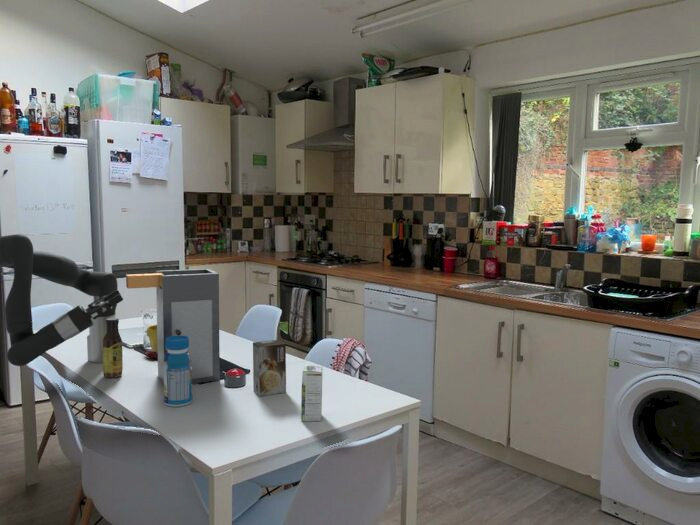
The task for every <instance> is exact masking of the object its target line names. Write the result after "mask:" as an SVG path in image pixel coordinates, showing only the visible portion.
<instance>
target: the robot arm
mask: <svg viewBox="0 0 700 525" xmlns="http://www.w3.org/2000/svg"><path fill="white" fill-rule="evenodd" d="M0 267H2V268H7V269H11V270H12V269H13V280H12V285H11V287H10V289H9V290H10V291H9V293H8V295H7V297H6V301H5V302H4V303H5V304H4V318H5V326H6V328H5V329H6V331H7V334H9V341H10V342H9V343H10V347H9V349H8V350H7V354H6V358H7V361H8V362H9V363H10V364H11V365H12V366H15V367H23V366H26V365H28V364H30V363H31V362H33V361H34V360H36V359H37V358H39V357H40V356H42V355H43V354H45V353H46V352H47V351H50V350H52V349H54V348H56V347H58V346H59V345H61V344H63V343H64V342H66V341H68V340H70V339H72V338H74V337H75V336H78V335H79V334H81V333H82V332H84V331H86V330H87V329H89V330H88V332H89V335H86V342H87V343H86V346H87V347H86V349H87V351H86V352H87V361H88V362H91V363H96V364H97V363H98V364H103V338H104V336H105V335H106V333H107V331H106V330H107V324H106V319H108V318H117V317H116V316H117V314H116V309H117V306H118V304H119V303H121V302H122V301H123V300H124V298H123V296H122V295H121V293H120V291H119V290H118V286H119V285H118V280H117V277H116V275H115V274H114V273H112V272H106V271H90V270H86V269H83V268H79V266H78V264H77V263H76V262H75V261H73V260H72V259H71V258H68V257H67V256H66V257H65V256H64V255H61V254H57V253H54V252H49V251H39V250H34V246H33V243H32V241H31V239H30V238H29V237H28V236H27V235H24V234H21V233H19V234H18V233H17V234H9V235H3V236H0ZM33 276H36V277H38V278H41V279H43V280H47V281H49V282H52V283H54V284H58V285H62V286H65V287H71V288H74V289H75V290H78V291H79V292H81V293H84V294H85V295H88V296H90V297H98V299H96V300H94V301H92V302H90V303H89V304H87V308H86V309H85V308H84V307H83V306H82V305H81V304H79V305H76V306H75V307H73V308H72V309H70V310H69V311H67V312H66V313H64V314H62V315H60V316H58V317H57V318H56V319H54V320H53V321H51V322H50V323H48V324H47V325H45V326H43V327H42V328H40V329H39V330H38V331H37V332H35V333H34V329H33V324H34V323H33V313H32V302H31V301H32V300H31V297H32V296H31V295H32V282H33V281H32V280H33Z"/></svg>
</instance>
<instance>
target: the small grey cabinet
mask: <svg viewBox="0 0 700 525" xmlns="http://www.w3.org/2000/svg"><path fill="white" fill-rule="evenodd" d="M155 273H162V274H163V275H161V277H162V287H155V288H156V290H155V291H156V292H155V293H156V325H157V344H158V353H157V376H158V378H159V380H160V381H161V383H162V385H163V386H164V373H163V367H164V362H163V359H164V356H165V354H166V353H167V351H168V350H166V345H165V340H166V338H167V337H170V336H178V335H181V336H187V337H188V338H189V348H188V349H187V350H188V352H189V353H190V355H191V358H192V361H191V365H192V385H194V384H202V383H201V382H204V383H210V382H209V381H212V382H218V381H219V380H221V379H220V378H221V376H220V372H221V371H220V370H221V369H220V366H221V365H220V364H221V362H220V360H221V358H220V354H221V353H220V274H219V272H216V271H215V270H212V269H211V268H194V269H189V268H188V269H169V270H167V269H165V270H156V271H155ZM197 273H205V274H197ZM173 274H181V275H173Z"/></svg>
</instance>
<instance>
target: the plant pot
mask: <svg viewBox="0 0 700 525" xmlns="http://www.w3.org/2000/svg"><path fill="white" fill-rule="evenodd" d="M146 335H147V337H148V339H149V344H150V348H151V351H152V350H153V351H157V352H158V344H157V324H154V325H149V326H147V329H146Z"/></svg>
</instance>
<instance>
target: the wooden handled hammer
mask: <svg viewBox="0 0 700 525" xmlns="http://www.w3.org/2000/svg"><path fill="white" fill-rule="evenodd" d="M197 274H205V273H197ZM161 275H163V274H162V273H156V272H154V273H135V274H134V273H133V274H129V273H128V274H127V273H126V274H125V281H126V282H125V283H126V288H127V289H142V288H143V289H145V288H146V289H147V288H156V287H162V277H161ZM173 275H181V274H173Z"/></svg>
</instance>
